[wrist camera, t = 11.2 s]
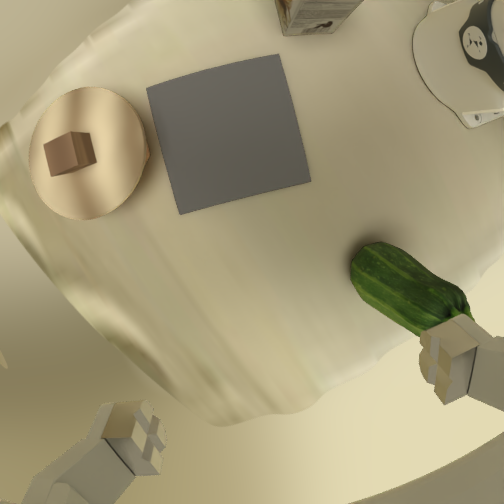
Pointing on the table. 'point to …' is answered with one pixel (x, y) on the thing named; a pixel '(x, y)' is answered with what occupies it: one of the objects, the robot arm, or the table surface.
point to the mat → (228, 133)
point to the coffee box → (313, 15)
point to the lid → (87, 153)
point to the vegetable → (405, 288)
